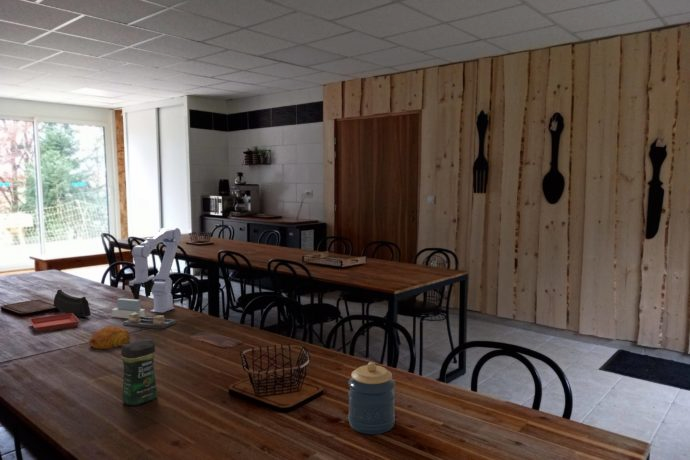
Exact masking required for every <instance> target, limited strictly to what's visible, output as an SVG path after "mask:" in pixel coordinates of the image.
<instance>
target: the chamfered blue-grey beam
mask: <svg viewBox="0 0 690 460" xmlns="http://www.w3.org/2000/svg"><path fill="white" fill-rule="evenodd" d="M116 300H117V301H116V302H117V303H116V304H117V307H116V308H118V310H127V311H140V309H141V300H140V299H134V298H133V299H132V298H122V297H121V298H117V299H116Z"/></svg>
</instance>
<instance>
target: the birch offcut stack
mask: <svg viewBox="0 0 690 460" xmlns="http://www.w3.org/2000/svg"><path fill="white" fill-rule="evenodd" d="M127 320H128V322H137V323H140V313H132V314H129V319H128V318H127Z"/></svg>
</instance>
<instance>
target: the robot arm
mask: <svg viewBox="0 0 690 460" xmlns="http://www.w3.org/2000/svg"><path fill="white" fill-rule="evenodd" d="M181 239H182V232H181V230H180V228H178V227H175V228H173V227H161V228H160V229H159V230H158V232H157V233H156V234H155V235H154V236H153V237H147V238H146V239H145V240H144V241H143V242H141V243H140V244H139V245H135V246H133V247H132V250H131V256H133V261H134V273H135V275H134V276H135V278H134V279H133V280H129V281H128V287H129V289H130V291H131V293H132V295H133V299H134V300H140V290H141V287H142V286H141V285H139V284H142V283H143V287H144V293H145V296H146V297H151V294H152V295H153V296H152V297H153V309H151V310H150V312H154V313H163V314H164V313H166V312H167V311H168V312H169V311H170V310H174V309H175V307H174V303H173V302H174V301H173V300H174V299H173V294H172V293H171V291H172V284H173V280H172V279H171V277H170V274H171V270H172V268H173V267H172V266H173V264H174V259H175V257H176V253H177V250H178V246H179V244H180V242H181ZM160 242H162V243H163V245H165V247H166V248H165V250H164V254H163V257H162V261H161V264H160V268H159V270H158V274H156V275H154V276H153V275H151V276H149V264H148V260H149V259H148V257H150V254H151V252H152V251H153V250H155V248H157V246H158V244H159V243H160Z"/></svg>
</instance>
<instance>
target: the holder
mask: <svg viewBox="0 0 690 460" xmlns="http://www.w3.org/2000/svg"><path fill="white" fill-rule="evenodd" d="M110 312H111V316H110V317H112V318H119V319H127V320H128V319H129V314H132V313H140V316H142V317H147V313H146V309H145V308H140V311H127V310H118V307H115V308H111V311H110Z"/></svg>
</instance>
